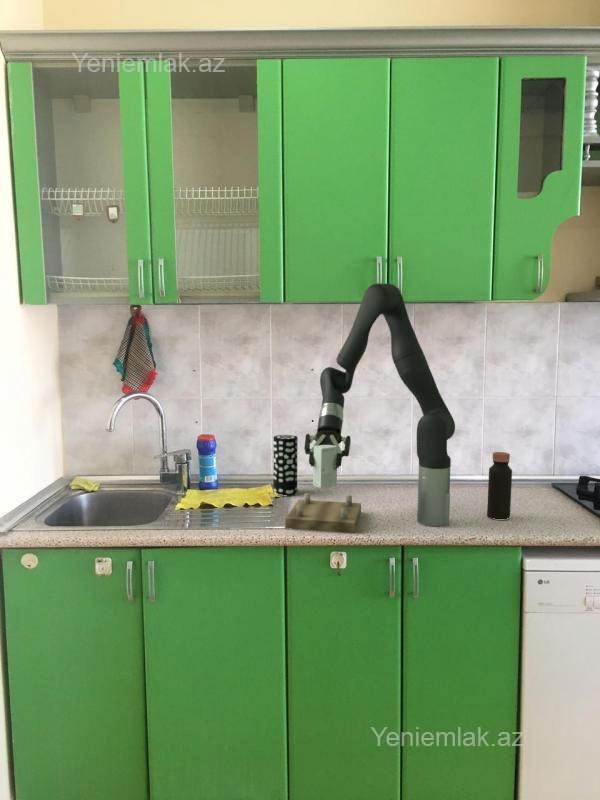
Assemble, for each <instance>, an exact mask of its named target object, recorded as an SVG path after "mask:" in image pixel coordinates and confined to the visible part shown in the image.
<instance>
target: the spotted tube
mask: <svg viewBox="0 0 600 800" xmlns="http://www.w3.org/2000/svg"><path fill="white" fill-rule="evenodd" d="M298 439H299V438H298V436H297V435H293V434H278V435H274V436H273V474H272V475H273V479H272V480H273V484H272V485H273V486H272V487H273V489H272V490H274V492H276V493H278V494H280V495H287V497H292V496H293V497H294V496H296V495H297V494H298V447H299V446H298Z"/></svg>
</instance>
